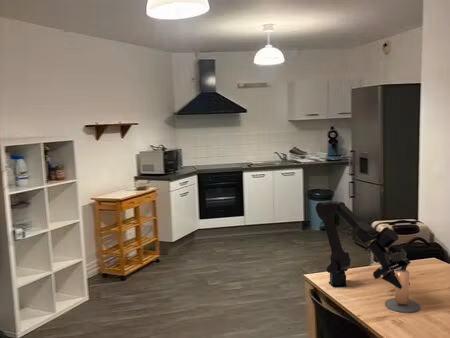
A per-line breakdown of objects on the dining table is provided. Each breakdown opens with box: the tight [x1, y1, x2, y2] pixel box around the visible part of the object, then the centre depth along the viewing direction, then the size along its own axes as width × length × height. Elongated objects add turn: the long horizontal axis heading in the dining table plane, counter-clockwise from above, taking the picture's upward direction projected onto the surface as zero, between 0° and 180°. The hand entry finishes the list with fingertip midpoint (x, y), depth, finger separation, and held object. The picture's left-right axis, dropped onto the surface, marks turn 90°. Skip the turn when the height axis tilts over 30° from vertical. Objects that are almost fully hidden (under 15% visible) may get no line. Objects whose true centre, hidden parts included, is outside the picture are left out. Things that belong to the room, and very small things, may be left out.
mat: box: [384, 297, 421, 314], centre depth 181 cm, size 13×13×1 cm
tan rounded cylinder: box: [394, 269, 410, 304], centre depth 180 cm, size 5×5×12 cm
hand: (405, 286), depth 179 cm, fingers closed on tan rounded cylinder, 5 cm apart
